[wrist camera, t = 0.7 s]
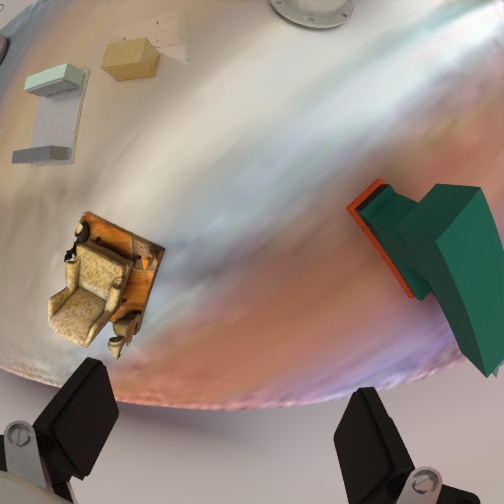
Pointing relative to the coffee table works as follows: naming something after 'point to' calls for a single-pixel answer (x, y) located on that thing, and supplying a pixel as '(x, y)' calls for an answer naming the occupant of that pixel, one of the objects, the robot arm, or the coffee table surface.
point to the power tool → (444, 259)
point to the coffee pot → (2, 45)
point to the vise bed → (55, 128)
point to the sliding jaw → (54, 80)
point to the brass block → (131, 59)
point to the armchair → (104, 284)
